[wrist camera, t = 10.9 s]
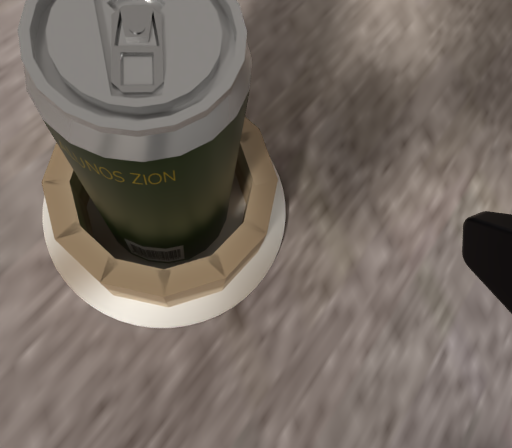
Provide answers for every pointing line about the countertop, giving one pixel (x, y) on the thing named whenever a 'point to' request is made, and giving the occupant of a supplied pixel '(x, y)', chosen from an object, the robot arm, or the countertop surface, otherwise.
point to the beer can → (144, 111)
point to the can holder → (163, 274)
